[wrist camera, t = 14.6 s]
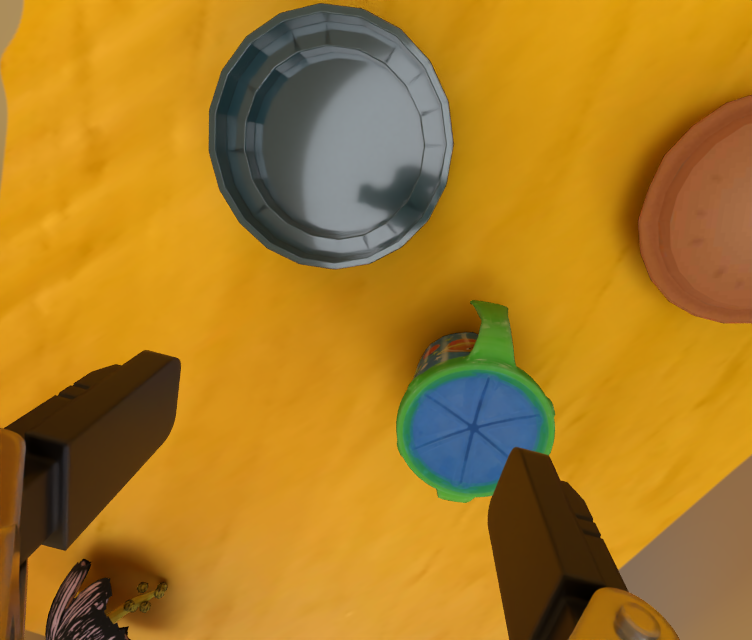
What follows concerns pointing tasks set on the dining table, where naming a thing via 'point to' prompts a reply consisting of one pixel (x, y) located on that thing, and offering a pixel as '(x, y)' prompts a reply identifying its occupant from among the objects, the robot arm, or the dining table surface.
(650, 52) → the dining table surface
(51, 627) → the decorative flower
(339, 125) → the snack bowl
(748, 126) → the pie
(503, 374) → the snack cup
